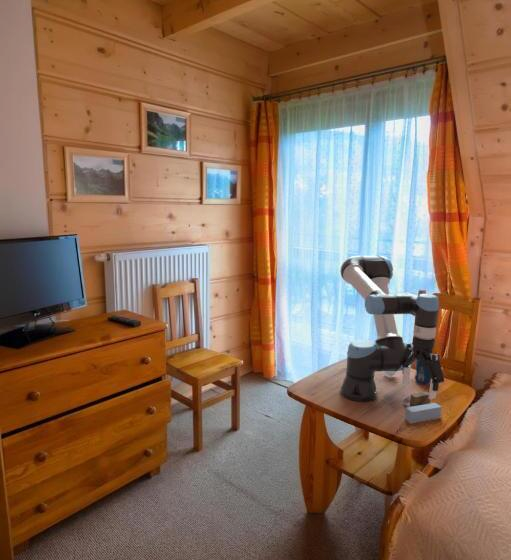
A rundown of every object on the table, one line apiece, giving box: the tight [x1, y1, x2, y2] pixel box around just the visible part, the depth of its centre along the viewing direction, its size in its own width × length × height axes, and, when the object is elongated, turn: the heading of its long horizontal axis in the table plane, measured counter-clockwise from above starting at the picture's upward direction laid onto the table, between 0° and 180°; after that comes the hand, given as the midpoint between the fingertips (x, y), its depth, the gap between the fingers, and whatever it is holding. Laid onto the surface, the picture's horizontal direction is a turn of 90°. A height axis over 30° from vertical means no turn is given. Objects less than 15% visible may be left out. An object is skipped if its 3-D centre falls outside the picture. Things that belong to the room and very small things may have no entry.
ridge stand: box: [403, 391, 431, 409], centre depth 173 cm, size 10×7×6 cm
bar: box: [404, 402, 443, 424], centre depth 165 cm, size 4×14×5 cm, turn 110°
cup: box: [384, 371, 397, 379], centre depth 205 cm, size 7×10×8 cm
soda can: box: [414, 359, 432, 386], centre depth 198 cm, size 7×7×12 cm
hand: (418, 390), depth 161 cm, fingers open, 13 cm apart
